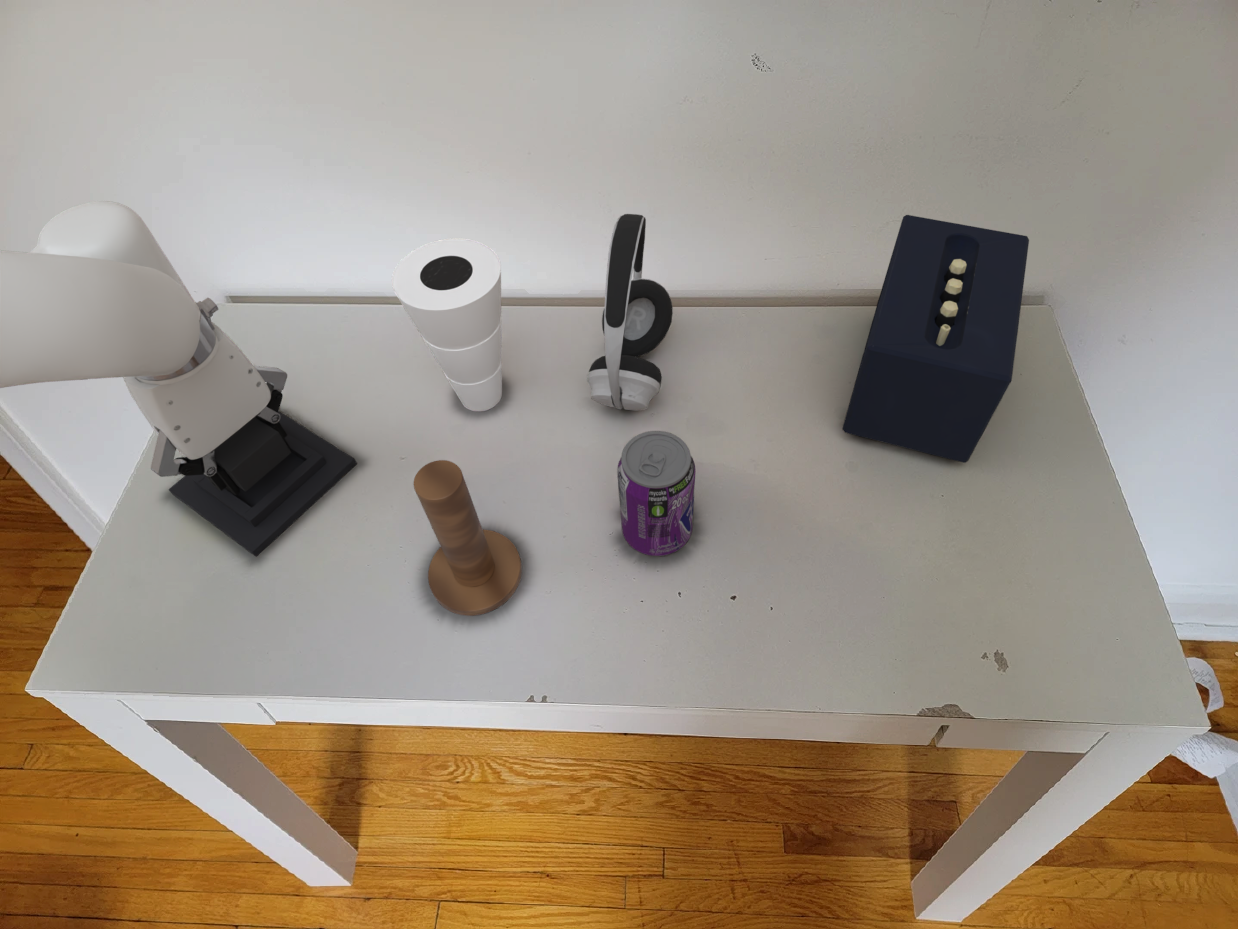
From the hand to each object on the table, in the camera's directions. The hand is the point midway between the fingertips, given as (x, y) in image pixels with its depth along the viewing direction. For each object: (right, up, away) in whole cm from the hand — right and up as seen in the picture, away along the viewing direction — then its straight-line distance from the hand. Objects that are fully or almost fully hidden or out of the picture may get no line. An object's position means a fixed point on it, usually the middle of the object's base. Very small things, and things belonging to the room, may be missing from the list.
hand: (254, 464), depth 81 cm
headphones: (+40, +10, +9) cm, 42 cm away
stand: (+24, -11, -6) cm, 27 cm away
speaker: (+72, +9, +6) cm, 73 cm away
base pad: (0, -2, +2) cm, 3 cm away
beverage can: (+42, -7, -4) cm, 43 cm away
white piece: (+23, +8, +8) cm, 25 cm away
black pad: (0, +1, -1) cm, 1 cm away
